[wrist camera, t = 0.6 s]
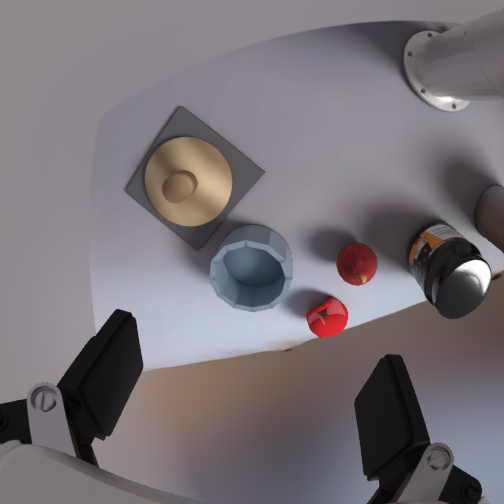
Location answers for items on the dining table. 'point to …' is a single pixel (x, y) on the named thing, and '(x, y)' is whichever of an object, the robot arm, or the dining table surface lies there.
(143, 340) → the dining table surface
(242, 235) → the bowl
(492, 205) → the pillar candle
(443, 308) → the supplement container
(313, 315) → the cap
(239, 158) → the mat
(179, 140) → the lid
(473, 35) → the robot arm
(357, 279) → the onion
